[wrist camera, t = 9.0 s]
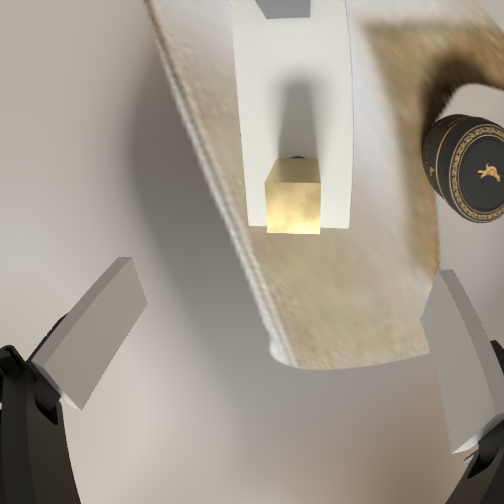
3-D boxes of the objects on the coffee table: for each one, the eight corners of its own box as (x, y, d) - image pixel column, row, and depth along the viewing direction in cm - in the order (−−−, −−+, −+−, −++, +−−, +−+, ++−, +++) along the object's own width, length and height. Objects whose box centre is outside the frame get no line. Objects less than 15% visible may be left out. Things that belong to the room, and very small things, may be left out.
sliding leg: (276, 157, 27) (264, 182, 20) (317, 157, 26) (320, 183, 19) (278, 195, 29) (267, 232, 22) (317, 196, 28) (319, 233, 21)
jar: (406, 120, 24) (435, 130, 18) (478, 105, 20) (517, 114, 14) (426, 205, 28) (451, 237, 22) (491, 186, 25) (525, 212, 18)
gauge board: (231, -18, 19) (227, -22, 18) (338, -23, 17) (340, -28, 16) (251, 220, 33) (248, 225, 32) (347, 222, 31) (348, 228, 30)
